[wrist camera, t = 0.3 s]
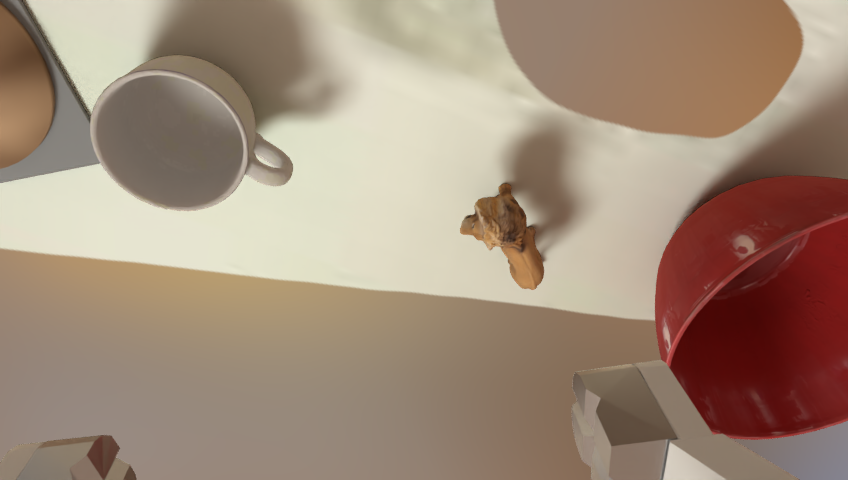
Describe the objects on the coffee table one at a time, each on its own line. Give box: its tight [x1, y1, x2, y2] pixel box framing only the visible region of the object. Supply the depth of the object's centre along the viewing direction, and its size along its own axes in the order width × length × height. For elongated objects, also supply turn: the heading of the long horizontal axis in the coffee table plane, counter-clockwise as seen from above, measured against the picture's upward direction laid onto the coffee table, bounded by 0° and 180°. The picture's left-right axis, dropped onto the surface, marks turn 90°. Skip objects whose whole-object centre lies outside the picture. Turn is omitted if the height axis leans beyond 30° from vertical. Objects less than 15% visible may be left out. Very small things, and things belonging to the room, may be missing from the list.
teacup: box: [90, 55, 293, 211], centre depth 43 cm, size 14×11×8 cm
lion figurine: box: [460, 184, 544, 290], centre depth 51 cm, size 15×5×9 cm, turn 36°
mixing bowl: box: [655, 176, 848, 440], centre depth 53 cm, size 28×28×15 cm
